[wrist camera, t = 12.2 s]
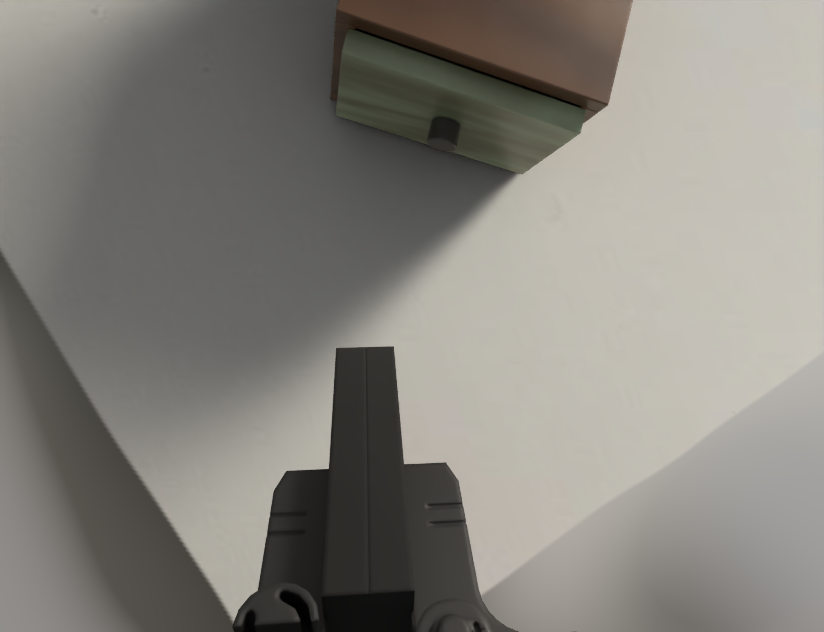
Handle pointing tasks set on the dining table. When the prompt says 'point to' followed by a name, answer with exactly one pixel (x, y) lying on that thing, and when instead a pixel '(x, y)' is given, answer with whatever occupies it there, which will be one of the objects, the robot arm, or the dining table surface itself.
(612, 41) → the cabinet
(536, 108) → the top drawer
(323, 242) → the dining table surface
